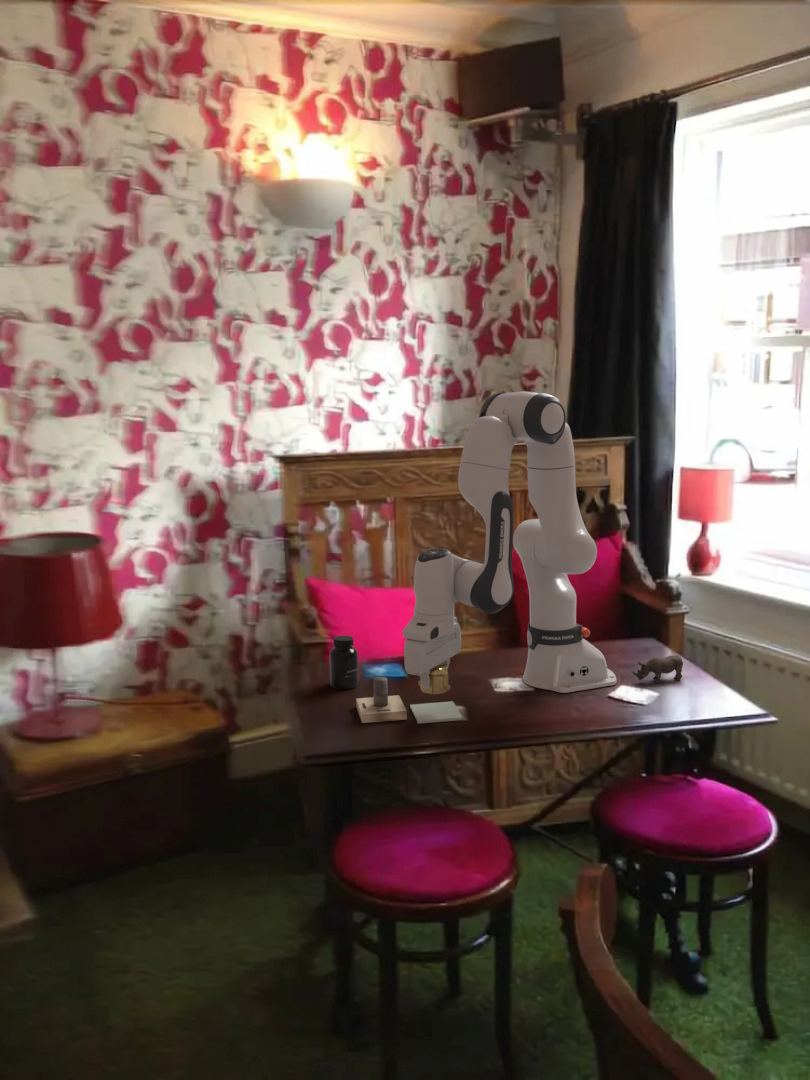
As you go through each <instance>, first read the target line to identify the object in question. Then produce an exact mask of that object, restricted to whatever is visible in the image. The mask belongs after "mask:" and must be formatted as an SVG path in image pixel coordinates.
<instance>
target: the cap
mask: <svg viewBox="0 0 810 1080" xmlns="http://www.w3.org/2000/svg"><path fill="white" fill-rule="evenodd" d="M428 675H429V679H432V683H431V684H432V686H431V687H429V688H428V689H426V688H422V686H421V679H419V680H418V684H417V685H418V687H420V690H421V692H422V693H424V694H429V695H440V694H445V693H446V692H448V691H450V690H451V684H449V672H448V669H447V666H446V665H444V664H439V665H437V666H435V667H434V668H432V669H430V674H428Z"/></svg>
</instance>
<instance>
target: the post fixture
mask: <svg viewBox="0 0 810 1080" xmlns="http://www.w3.org/2000/svg"><path fill="white" fill-rule="evenodd" d="M388 685H389V684H388V678H387V677H385V676H376V677H374V678H373V679H372V687H373V689H372V691H373V696H372V697H370V696H369V697H361V698H360V697H359V698H357V697H356V698H355V704H356V705H355V708H356V710H357V713H358V716H359V719H360V722H361V723H362V724H365V723H366V724H368V723H381V722H390V721H403V720H407V719H408V716H407V715H408V713H407V712H408V711H407V709H406V707H405V705H404V702H403V701H402V699H401V697H400V695H398V694H397V695H388V693H389V692H388V691H389V690H388Z"/></svg>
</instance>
